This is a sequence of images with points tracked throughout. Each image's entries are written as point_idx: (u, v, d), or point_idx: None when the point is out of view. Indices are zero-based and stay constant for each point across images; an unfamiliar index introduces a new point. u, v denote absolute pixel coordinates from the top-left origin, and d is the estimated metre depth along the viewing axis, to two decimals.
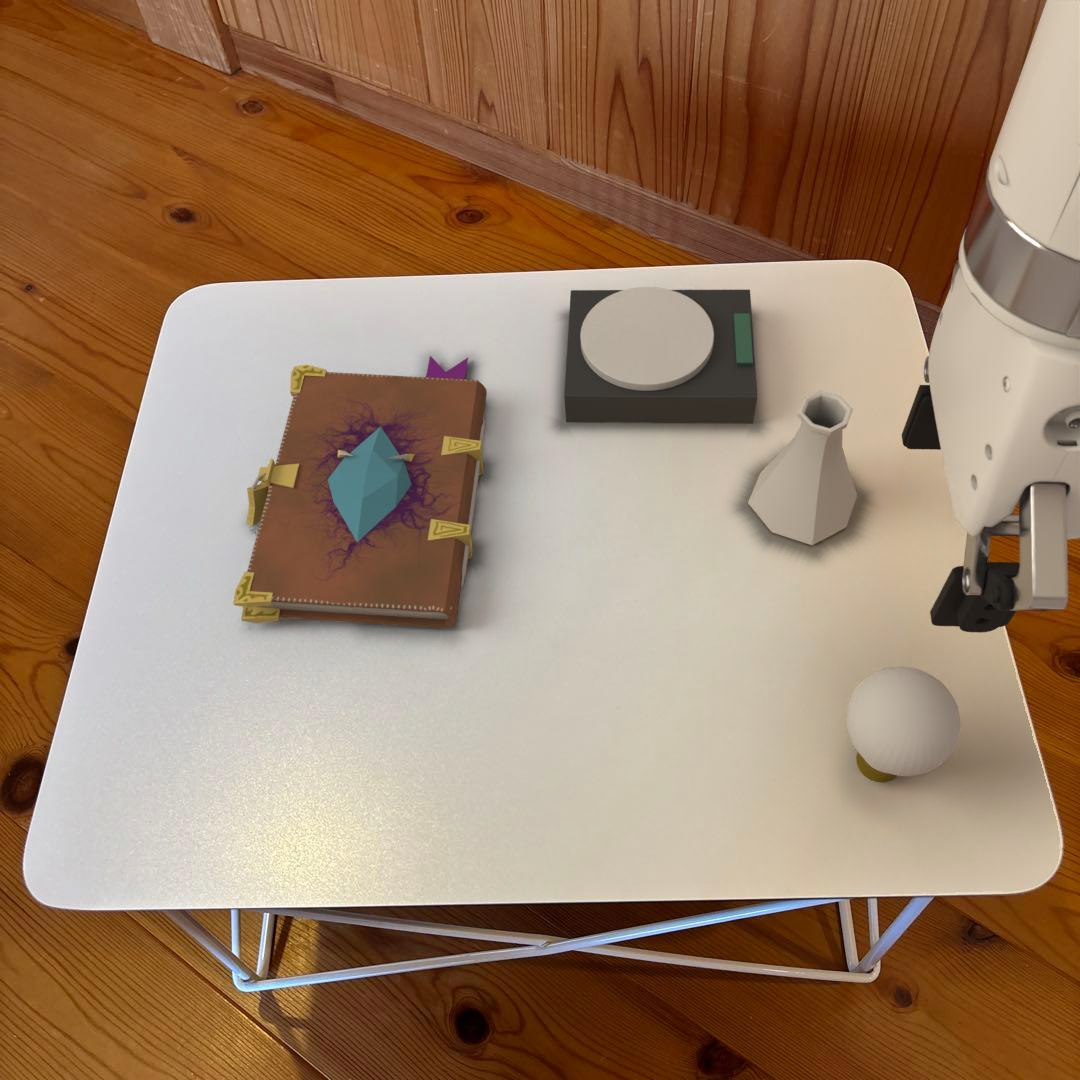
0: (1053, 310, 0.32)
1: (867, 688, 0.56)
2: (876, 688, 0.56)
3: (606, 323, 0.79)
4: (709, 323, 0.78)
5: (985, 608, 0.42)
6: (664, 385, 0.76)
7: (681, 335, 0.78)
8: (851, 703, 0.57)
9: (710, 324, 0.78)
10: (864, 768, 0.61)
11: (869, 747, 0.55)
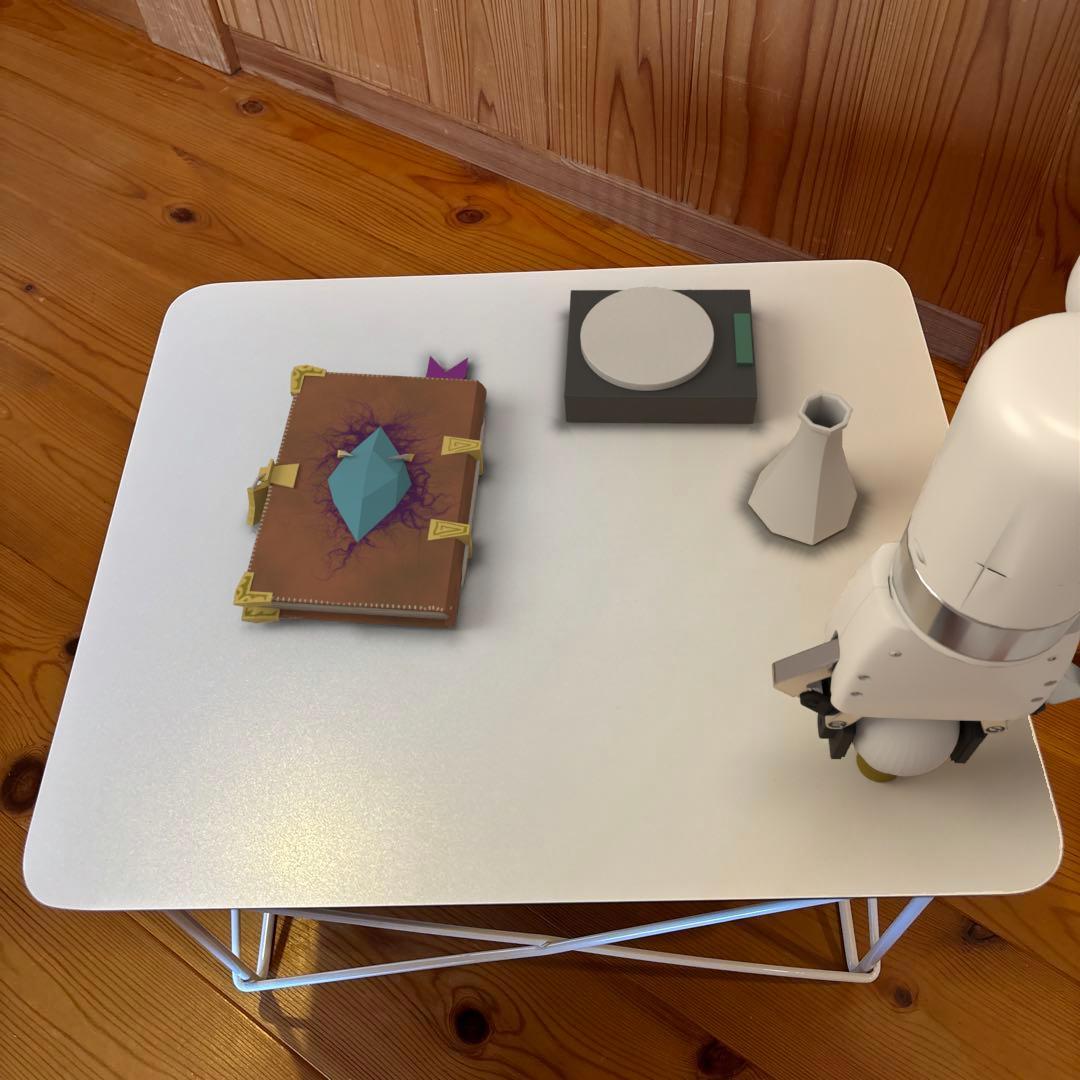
0: None
1: None
2: None
3: (606, 323, 0.79)
4: (709, 323, 0.78)
5: None
6: (664, 385, 0.76)
7: (681, 335, 0.78)
8: None
9: (710, 324, 0.78)
10: (864, 768, 0.61)
11: (868, 747, 0.55)
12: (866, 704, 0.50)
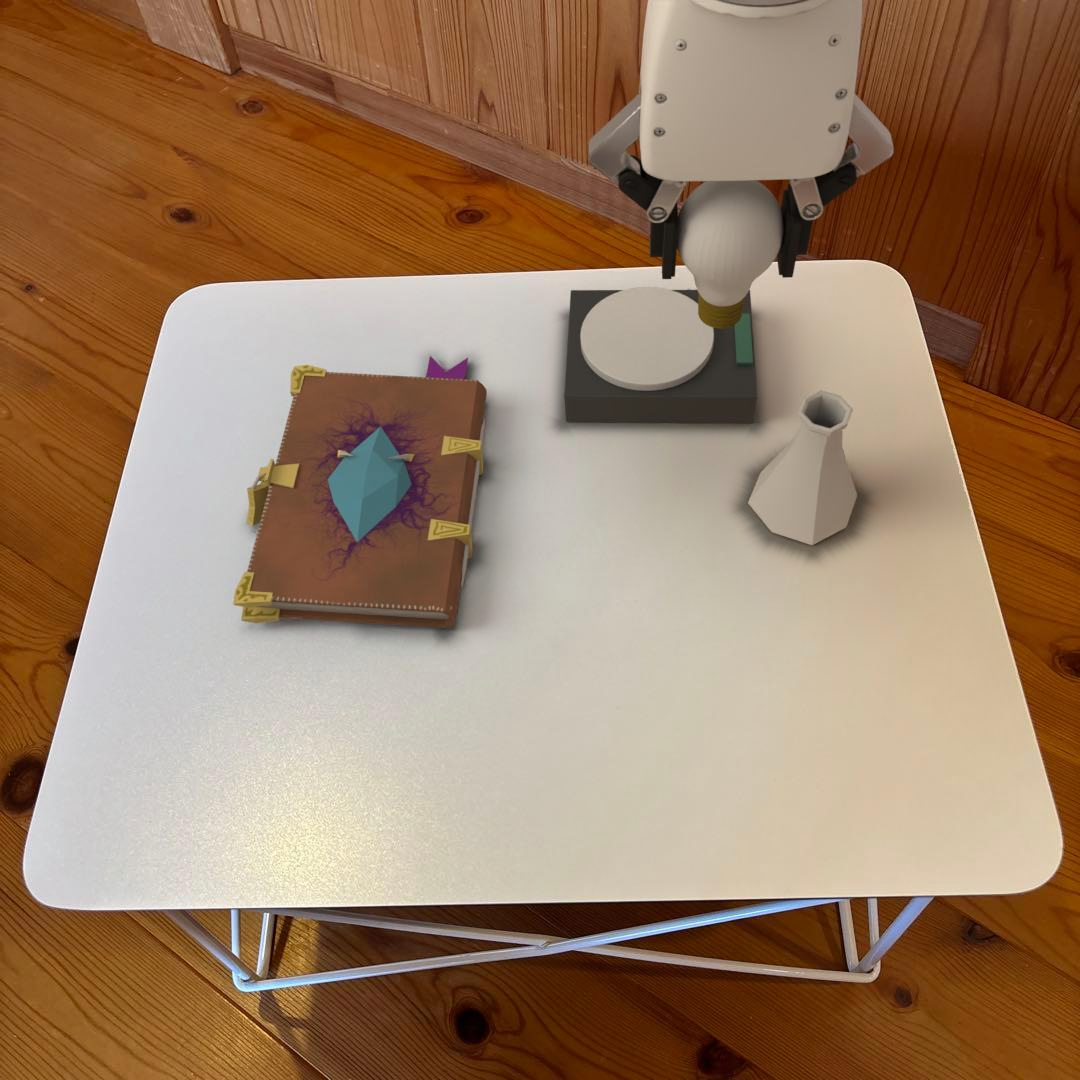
0: None
1: (691, 193, 0.57)
2: (698, 188, 0.56)
3: (606, 323, 0.79)
4: None
5: None
6: (664, 385, 0.76)
7: (681, 335, 0.78)
8: (678, 215, 0.57)
9: None
10: (703, 312, 0.62)
11: (692, 245, 0.56)
12: (671, 151, 0.51)
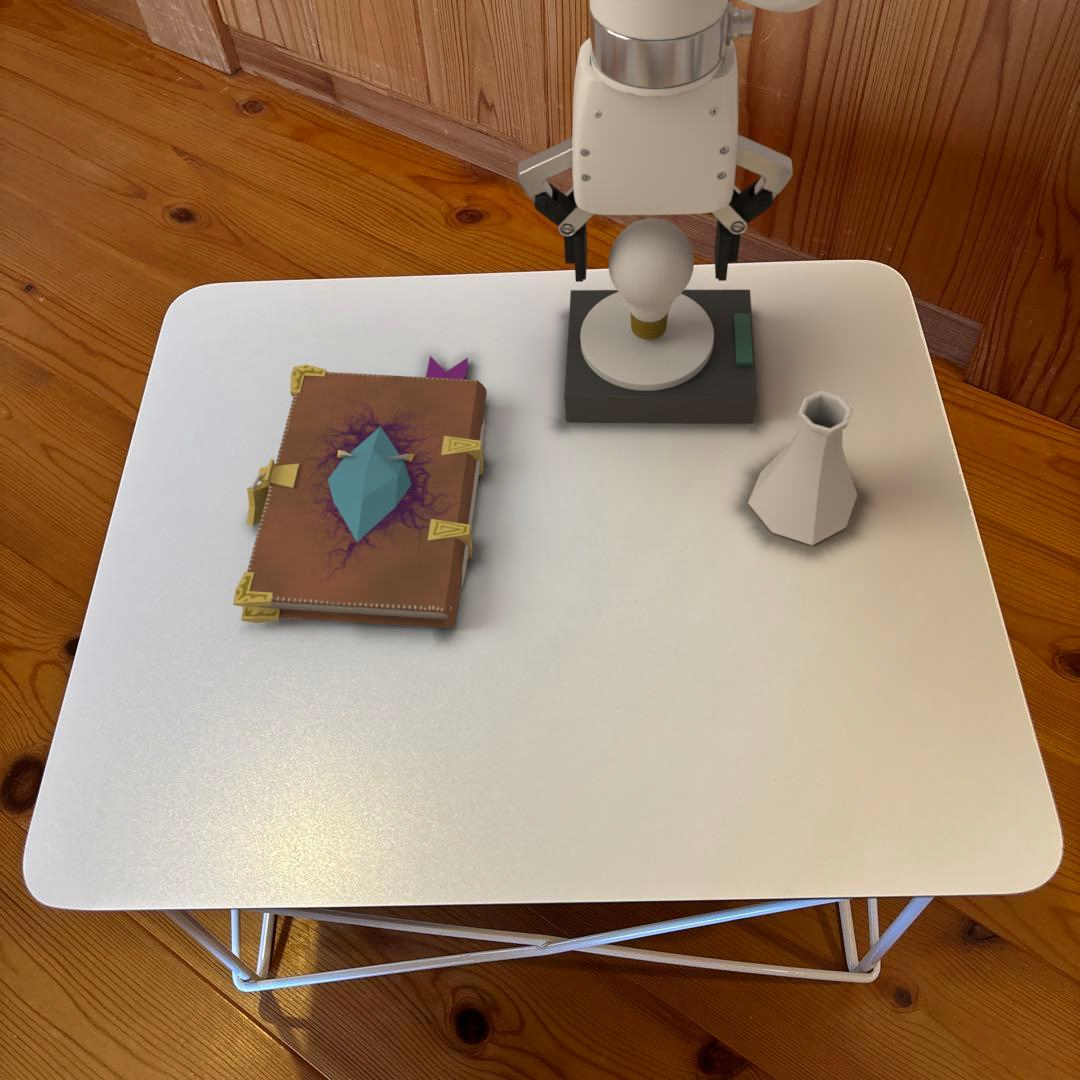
0: (717, 52, 0.57)
1: None
2: (625, 229, 0.71)
3: (606, 323, 0.79)
4: (709, 323, 0.78)
5: None
6: (664, 385, 0.76)
7: (681, 335, 0.78)
8: None
9: (710, 324, 0.78)
10: (634, 326, 0.76)
11: (619, 274, 0.71)
12: (597, 192, 0.65)
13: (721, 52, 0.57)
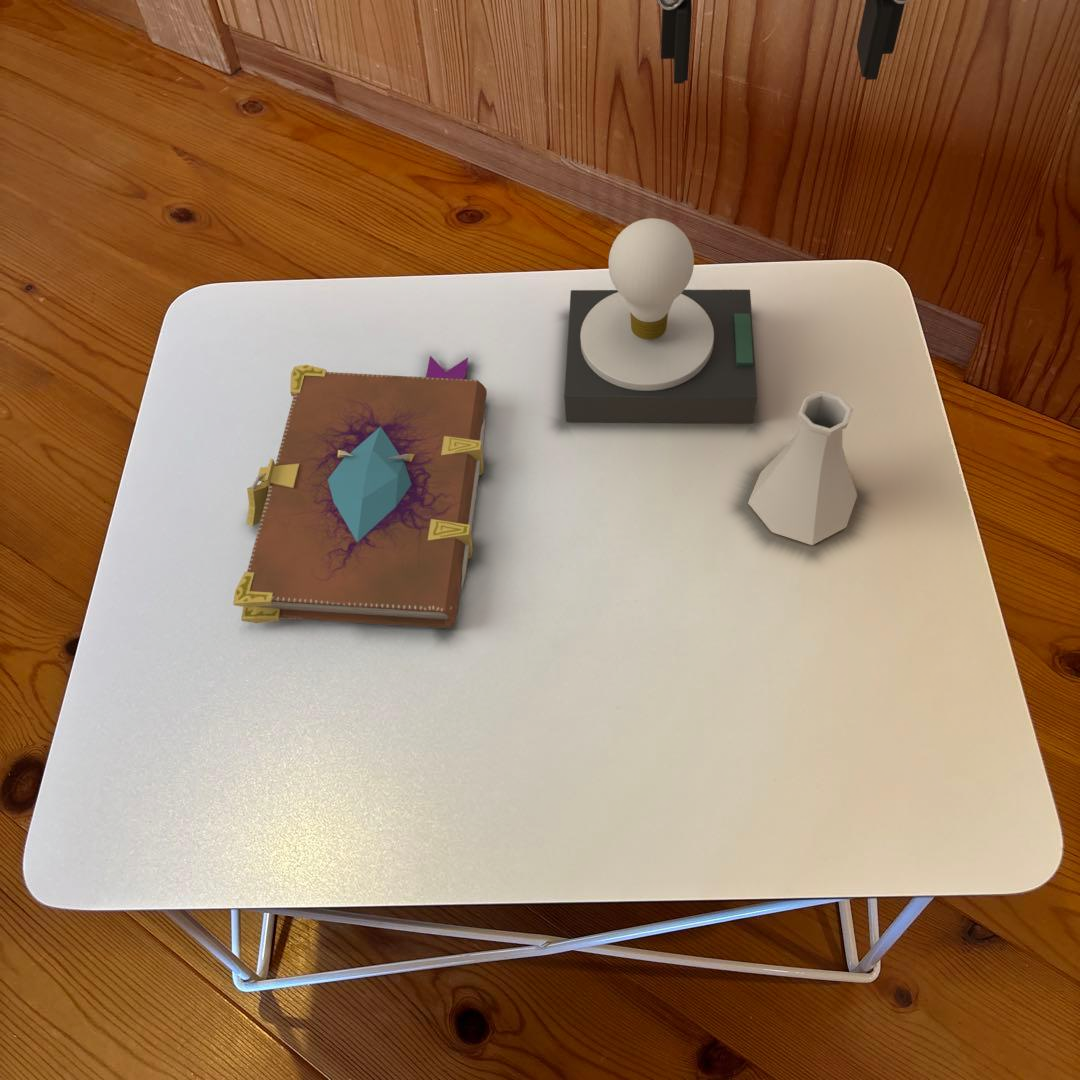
0: None
1: None
2: (625, 229, 0.71)
3: (606, 323, 0.79)
4: (709, 323, 0.78)
5: None
6: (664, 385, 0.76)
7: (681, 335, 0.78)
8: None
9: (710, 324, 0.78)
10: (634, 326, 0.76)
11: (619, 274, 0.71)
12: None
13: None
